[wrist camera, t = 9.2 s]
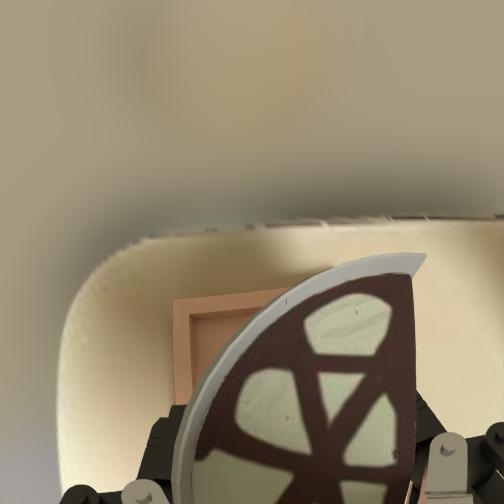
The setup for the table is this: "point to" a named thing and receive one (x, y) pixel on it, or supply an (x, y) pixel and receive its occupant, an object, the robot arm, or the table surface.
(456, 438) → the robot arm
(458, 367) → the table surface
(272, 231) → the table surface
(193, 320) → the dish
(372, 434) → the food container
